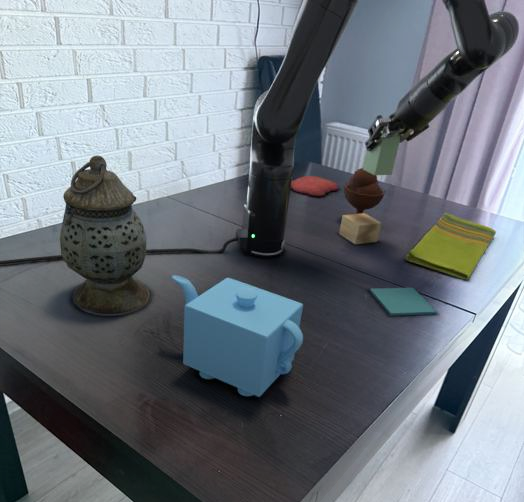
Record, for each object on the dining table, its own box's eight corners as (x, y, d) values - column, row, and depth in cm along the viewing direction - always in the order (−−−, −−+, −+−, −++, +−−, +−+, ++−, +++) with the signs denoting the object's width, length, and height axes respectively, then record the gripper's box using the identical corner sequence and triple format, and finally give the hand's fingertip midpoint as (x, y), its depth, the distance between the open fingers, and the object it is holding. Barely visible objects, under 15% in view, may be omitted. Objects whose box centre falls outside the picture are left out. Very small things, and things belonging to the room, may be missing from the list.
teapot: (307, 374, 79) (323, 297, 71) (275, 414, 71) (288, 331, 63) (192, 328, 87) (194, 253, 79) (150, 358, 78) (148, 278, 71)
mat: (390, 316, 98) (391, 313, 97) (369, 291, 106) (370, 288, 105) (435, 314, 100) (436, 311, 100) (412, 290, 108) (413, 287, 108)
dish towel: (494, 237, 141) (498, 226, 139) (468, 282, 114) (473, 268, 113) (439, 222, 146) (443, 211, 145) (403, 261, 120) (406, 249, 118)
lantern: (150, 316, 88) (146, 171, 74) (63, 318, 85) (42, 166, 71) (148, 279, 100) (145, 146, 85) (72, 279, 96) (55, 141, 82)
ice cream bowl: (380, 232, 134) (394, 175, 126) (339, 228, 134) (350, 170, 126) (374, 218, 143) (387, 164, 135) (335, 214, 143) (345, 159, 134)
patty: (317, 199, 152) (318, 192, 151) (279, 187, 158) (280, 181, 157) (344, 188, 165) (345, 182, 164) (308, 177, 171) (309, 171, 169)
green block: (374, 175, 117) (383, 134, 112) (362, 169, 120) (370, 128, 115) (391, 174, 119) (401, 134, 114) (379, 168, 122) (388, 129, 117)
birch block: (355, 244, 126) (359, 225, 123) (338, 233, 131) (342, 215, 128) (377, 241, 129) (381, 222, 126) (360, 231, 134) (364, 213, 131)
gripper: (447, 85, 106) (396, 132, 121) (393, 82, 100) (347, 132, 115) (457, 118, 105) (405, 161, 120) (403, 117, 99) (355, 162, 115)
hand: (377, 147), depth 118 cm, fingers closed on green block, 5 cm apart
